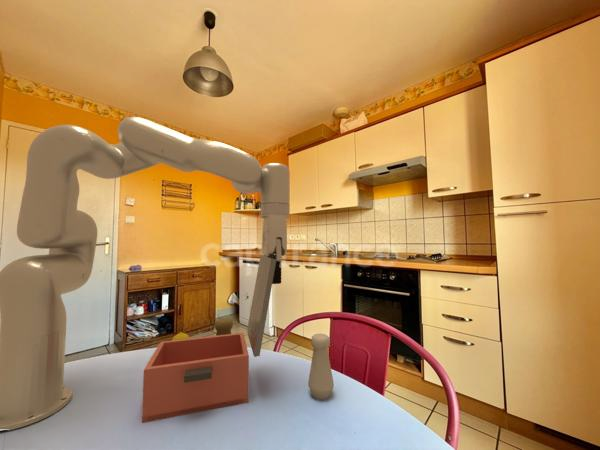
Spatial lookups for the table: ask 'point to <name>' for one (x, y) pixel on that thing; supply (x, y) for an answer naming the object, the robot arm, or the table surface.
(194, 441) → the table surface
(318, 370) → the salt shaker
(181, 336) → the lemon
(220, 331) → the cork
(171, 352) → the orange wooden open box
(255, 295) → the grey box lid
